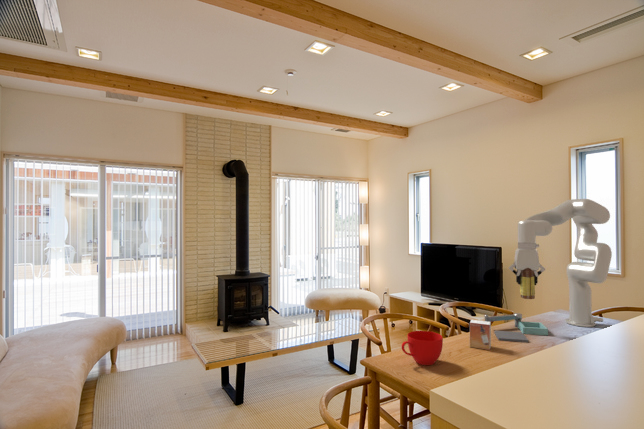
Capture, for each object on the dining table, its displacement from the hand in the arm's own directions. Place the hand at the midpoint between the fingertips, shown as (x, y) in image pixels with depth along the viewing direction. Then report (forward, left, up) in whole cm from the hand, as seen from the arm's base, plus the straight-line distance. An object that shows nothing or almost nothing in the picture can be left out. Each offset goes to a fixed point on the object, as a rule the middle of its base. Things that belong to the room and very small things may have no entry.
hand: (526, 284), depth 181 cm
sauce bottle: (0, 0, -7) cm, 7 cm away
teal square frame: (-2, -4, -23) cm, 23 cm away
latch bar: (+10, -5, -19) cm, 22 cm away
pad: (+9, +10, -23) cm, 27 cm away
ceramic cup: (+48, +52, -23) cm, 75 cm away
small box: (+24, +27, -23) cm, 43 cm away
